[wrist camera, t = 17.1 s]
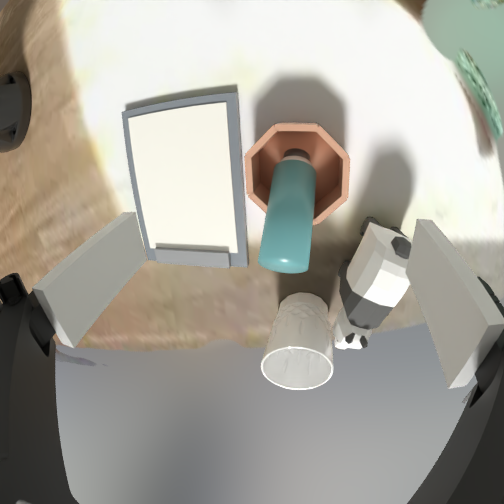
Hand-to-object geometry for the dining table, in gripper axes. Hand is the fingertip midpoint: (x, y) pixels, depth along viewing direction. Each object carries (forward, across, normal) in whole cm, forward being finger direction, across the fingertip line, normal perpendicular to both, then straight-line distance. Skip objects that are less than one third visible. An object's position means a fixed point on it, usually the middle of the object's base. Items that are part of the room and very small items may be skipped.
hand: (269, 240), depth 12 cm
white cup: (+18, +2, -20) cm, 27 cm away
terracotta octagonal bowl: (+18, +1, -1) cm, 18 cm away
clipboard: (+18, -12, -3) cm, 22 cm away
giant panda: (+18, +9, -12) cm, 23 cm away
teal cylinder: (+16, +1, +1) cm, 16 cm away
